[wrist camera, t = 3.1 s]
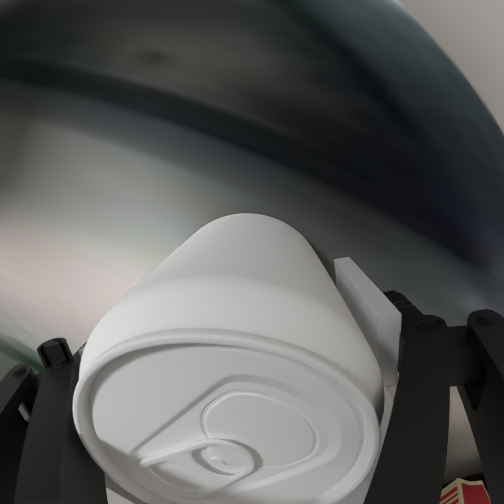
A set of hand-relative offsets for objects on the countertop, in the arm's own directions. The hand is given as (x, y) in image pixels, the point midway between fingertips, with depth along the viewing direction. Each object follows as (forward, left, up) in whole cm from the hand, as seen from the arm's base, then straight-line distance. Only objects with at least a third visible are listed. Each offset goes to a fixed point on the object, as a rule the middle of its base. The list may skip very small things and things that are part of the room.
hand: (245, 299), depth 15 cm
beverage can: (0, 0, -2) cm, 2 cm away
